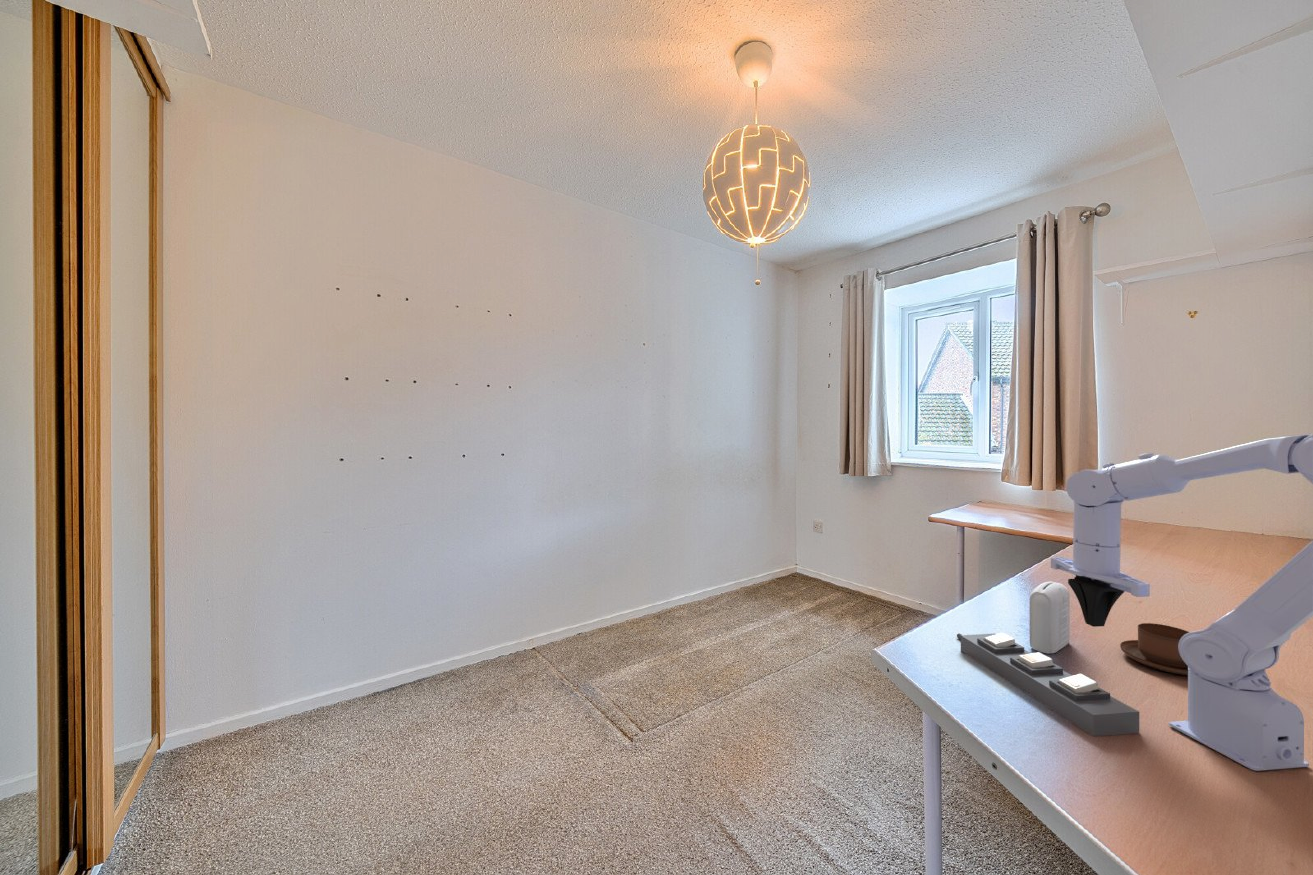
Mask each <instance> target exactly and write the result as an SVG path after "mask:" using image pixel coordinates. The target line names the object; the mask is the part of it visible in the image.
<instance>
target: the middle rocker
mask: <svg viewBox="0 0 1313 875" xmlns="http://www.w3.org/2000/svg"><path fill="white" fill-rule="evenodd" d="M1030 653H1031V654H1025V655H1019V661H1021V662H1022V663H1024V664H1026V665H1028V666H1029V667H1031V668H1041V667H1047V666H1052V665H1053V663H1054V662H1053V658H1051V657H1049V656H1047V655H1045V654H1044V653H1042V652H1039V651H1037V652H1030Z"/></svg>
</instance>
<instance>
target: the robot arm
mask: <svg viewBox="0 0 1313 875" xmlns="http://www.w3.org/2000/svg"><path fill="white" fill-rule="evenodd" d="M1264 469H1266V470H1269V471H1273V472H1278V473H1281V474H1288V475H1289V474H1298V473H1300V474H1301V475H1302V476H1303V477H1304V478H1305V479H1306V480H1307V481H1308V482H1310V483H1311V484H1312V485H1313V434H1297V435H1289V436H1288V435H1287V436H1280V437H1272V438H1271V437H1270V438H1265V439H1261V440H1260V439H1259V440H1256V441H1251V442H1248V443H1244V444H1239V445H1235V446H1231V447H1227V448H1222V449H1220V450H1218V449H1217V450H1214V451H1211V452H1207V453H1202V454H1199V455H1194V456H1189V457H1186V458H1181V459H1178V458H1174V457H1172V456H1169V455H1166V454H1162V453H1161V454H1157V455H1155V453H1153V452H1147V453H1142V454H1139V455H1138V459H1135V460H1131V461H1126V462H1122V463H1117V464H1115V463H1114V462H1109V463H1104V464H1102V468H1101V469H1082V470H1079V471H1077V472H1075V473H1073V474H1071V476H1069V478H1068V479H1067V481H1066V484H1065V488H1066V489H1065V490H1066V492H1067V495H1068V496H1069V498H1070V499H1071V500H1072V501H1073V530H1072V531H1073V538H1072V539H1073V541H1072V542H1073V544H1072V546H1073V548H1072V559H1070V558H1066V557H1062V556H1054V557H1053V556H1051V557H1050V568H1051V569H1053V570H1059V571H1062V572H1063V571H1064V572H1065V573H1069V574H1071V575H1075V576H1074V578H1068V579H1067V584H1068V585H1069V587H1070V588H1071V589H1072V591H1073V593H1074V595H1075V596H1076V599H1077V601H1078V603H1079V606H1080V609H1081V613H1082V616H1083V619H1084V623H1085V624H1086V625H1089V626H1091V627H1093V628H1094V627H1104V626H1105V624H1106V622H1107V619H1108V617H1109V614H1110V612H1111V610H1112V609H1113V606H1114V605H1115V603H1116V602H1117V601H1118V600H1119V598H1120V597H1121V596H1122V595H1123V594H1124V593H1125V592H1126V593H1129V594H1130V595H1131V596H1133V597H1136V598H1144V597H1145V598H1147V597H1148V598H1149V597H1150V596H1151V595H1150V593H1151V591H1150V590H1151V585H1150V583H1147V582H1144V581H1142V580H1139V579H1137V578H1135V577H1133V576H1130V575H1128V574H1126V573H1124V572H1122V571H1121V538H1122V537H1121V535H1122V504H1123V503H1124V502H1125V501H1134V500H1141V499H1146V498H1152V497H1159V496H1164V495H1170V494H1177V493H1181V492H1182V491H1183V490H1184V489H1185V488H1186V487H1187V485H1188V484H1189V482H1190V481H1196V480H1200V479H1202V480H1203V479H1208V478H1214V477H1219V476H1226V475H1232V474H1238V473H1244V472H1245V473H1246V472H1251V471H1256V470H1258V471H1259V470H1264ZM1311 618H1313V540H1311V541H1310V542H1309V543H1308V544H1307V545H1306V546H1304V547H1303V548H1302V549H1301V550H1300V551H1299V552H1298V553H1297V554H1295V555H1294V556H1293V557H1292V558H1291V559H1289V561H1288V562H1286V564H1284V565H1283V566H1282V567H1281V568H1280V569H1278V570H1277V571H1276V572H1275V573H1274V574H1273V575H1272V576H1270V577H1269V578H1268V579H1267V580H1266V581H1265V582H1263V584H1261V585H1260V586H1259V587H1258V588H1257V589H1256V590H1254V591H1253V592H1252V593H1251V594H1250V595H1249V596H1248V597H1247V598H1246V599H1244V600H1243V601H1242V602H1240V604H1239V605H1238V606H1236V607H1235V608H1234V609H1233V610H1232V611H1230V612H1228V613H1226V614H1225V615H1223V616H1221V617H1220V618H1218V619H1216V620H1215V621H1214V622H1212V623H1211V624H1210V625H1209V626H1207V627H1206V628H1204V629H1199V630H1195V631H1194V630H1193V631H1188V632H1189V633H1187V634H1185V635H1184V636H1183V637H1181V639H1180V641H1179V644H1178V649H1179V653H1180V656H1181V658H1182V659H1183V661H1184V662H1185V663H1186V665H1187V666H1188V675H1187V720H1176V721H1169V722H1168V725H1169V726H1170V727H1171V728H1173V729H1175V730H1177V731H1179V732H1181V733H1182V734H1184V735H1186V736H1188V737H1190V738H1192V739H1193V740H1195V741H1198V742H1199V743H1201V744H1203V745H1205V746H1206V747H1209V749H1210V748H1211V749H1213V750H1214V751H1216V752H1218V753H1220V754H1222V755H1224V756H1225V757H1227V758H1229V759H1231V760H1233V761H1235V762H1236V763H1239V764H1240V765H1243V766H1244V767H1246V768H1248V769H1250V770H1252V771H1254V772H1255V771H1256V772H1257V771H1259V772H1260V771H1269V770H1272V771H1273V770H1282V769H1285V770H1286V769H1296V768H1307V767H1310V763H1309V762H1308V761H1307V760H1305V753H1304V752H1305V750H1304V749H1305V719H1304V714H1303V712H1302V710H1301V709H1300V707H1299V706H1298V705H1297V704H1295V703H1294V702H1292V701H1290V700H1288V699H1286V698H1285V697H1282V695H1280V694H1278V693H1277V692H1275V691H1274V689H1273V688H1272V687H1271V683H1272V682H1271V681H1270V678H1269V676H1268V674H1267V673H1266V672H1267V671H1266V670H1268V669H1270V668H1273V666H1275V665H1276V664H1277V663H1278V661H1279V657H1280V650H1281V648H1282V647H1283V645H1284V644H1286V642H1288V641H1290V639H1291V635H1292V633H1293V632H1295V631H1296V630H1297V629H1298V628H1300V627H1301V626H1303V625H1304V624H1306V622H1307V621H1309V620H1310V619H1311Z"/></svg>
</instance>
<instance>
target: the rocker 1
mask: <svg viewBox="0 0 1313 875" xmlns="http://www.w3.org/2000/svg"><path fill="white" fill-rule="evenodd" d="M995 634H996V635H992V636H989V637H985V641H986V642H988V643H989V644H991V645H993V646H995V647H1007V646H1010V645H1014V644H1015V643H1016V641H1015V638H1014V637H1013V636H1010V635H1009V634H1006V633H1004V632H1000V633H999V632H998V633H995Z"/></svg>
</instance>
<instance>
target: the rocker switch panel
mask: <svg viewBox="0 0 1313 875" xmlns="http://www.w3.org/2000/svg"><path fill="white" fill-rule="evenodd" d="M996 634H997V633H995V632H993V633H980V634H979V633H977V634H961V633H957V634H956V638H957V639H959V640H960V652H962V653H963V654H965V655H967V656H968V657H970V658H972V659H973V660H975V661H976V662H977V663H979V664H981V665H982V666H984V667H985V668H987V669H989V670H990V672H993V673H994V674H996V675H998V676H999V677H1000V678H1002V679H1004V680H1006V681H1007V682H1009V683H1010V684H1012V685H1013V686H1015V687H1016V688H1018V689H1019V690H1021V691H1023V692H1024V693H1025V694H1027V695H1029V696H1031V697H1032V698H1033V699H1034V700H1037V701H1038V702H1040V703H1041V704H1042V705H1044V706H1045V707H1047V708H1049V709H1050V710H1052V711H1054V712H1056V714H1058V715H1059V716H1061V717H1063V718H1064V719H1066V720H1068V721H1069V722H1071V723H1072V724H1073V725H1075V726H1077V727H1078V728H1080V729H1082V730H1083V731H1084V732H1086V733H1088V735H1091V736H1092V737H1104V736H1114V735H1116V736H1117V735H1130V734H1139V733H1140V711H1139V710H1138V709H1135V708H1133V707H1131V706H1129V705H1128V704H1126V703H1124V702H1122V701H1120V700H1119V699H1117V698H1115V697H1113V696H1111V693H1110V692H1108V691H1107V690H1105V689H1102V688H1100V687H1099V686H1098V689H1096V690H1093V691H1089V692H1086V693H1075V692H1073V691H1071V690H1069V689H1068V688H1066V687H1064V686H1062V685H1061V684H1060V681H1059V680H1060V679H1063V678H1067V677H1070V676H1073V675H1072V674H1070V673H1068V672H1067V671H1064V668H1063V667H1061V666H1059V665H1057V664H1056V663H1054V662H1053V665H1052V666H1047V667H1041V668H1031V667H1029V666H1028V665H1026V664H1024V663H1022V662H1021V661H1019V655H1025V654H1031V653H1032V652H1030V651H1028V650H1026V649H1025V647H1024V646H1023V645H1020V644H1019V643H1016V642H1015V644H1014V645H1010V646H1007V647H995V646H993V645H991V644H989V643H988V642H986V641H985V637H989V636H992V635H996Z"/></svg>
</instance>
